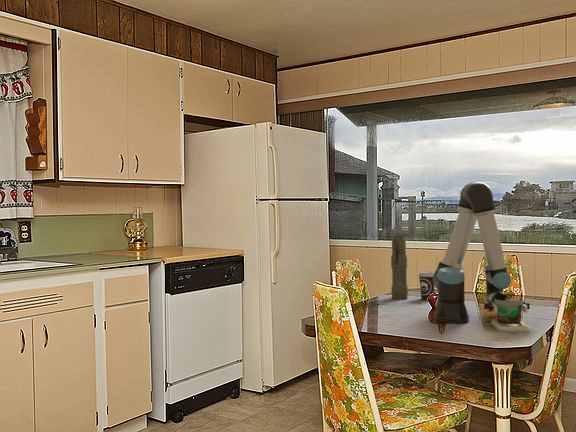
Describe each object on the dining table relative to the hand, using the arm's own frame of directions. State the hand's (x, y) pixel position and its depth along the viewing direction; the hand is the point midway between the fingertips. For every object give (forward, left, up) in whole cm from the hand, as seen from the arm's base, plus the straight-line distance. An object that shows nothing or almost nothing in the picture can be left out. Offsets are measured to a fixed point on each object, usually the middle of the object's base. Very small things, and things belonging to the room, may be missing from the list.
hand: (511, 309), depth 246 cm
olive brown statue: (-42, +78, -9) cm, 89 cm away
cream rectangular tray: (0, +4, -8) cm, 9 cm away
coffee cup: (-27, +76, -9) cm, 81 cm away
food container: (-1, +3, -7) cm, 8 cm away
